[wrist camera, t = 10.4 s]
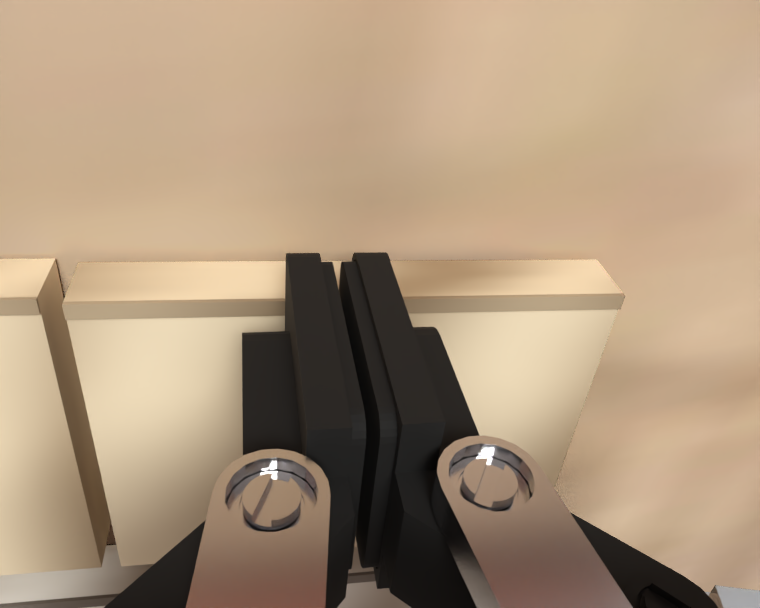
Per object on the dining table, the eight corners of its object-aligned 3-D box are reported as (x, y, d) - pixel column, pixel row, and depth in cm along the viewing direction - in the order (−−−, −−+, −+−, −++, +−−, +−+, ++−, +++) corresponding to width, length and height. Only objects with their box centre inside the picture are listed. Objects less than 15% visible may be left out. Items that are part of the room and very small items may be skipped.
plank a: (596, 259, 13) (625, 295, 12) (522, 492, 17) (539, 534, 16) (78, 262, 12) (62, 304, 10) (129, 520, 16) (120, 569, 14)
